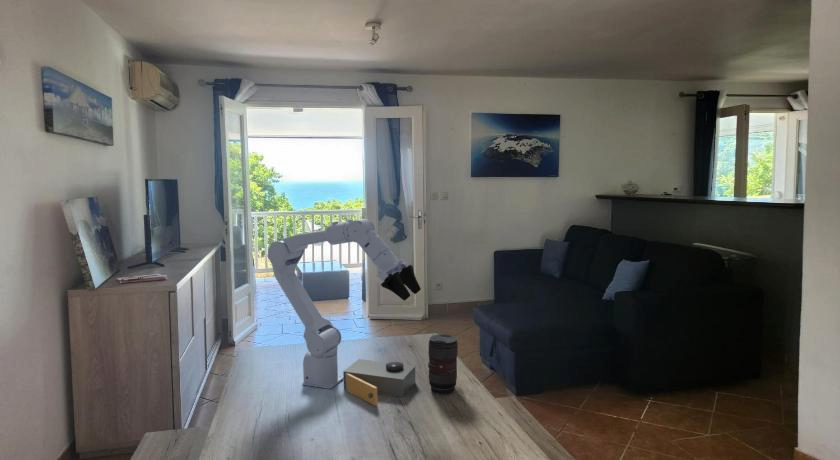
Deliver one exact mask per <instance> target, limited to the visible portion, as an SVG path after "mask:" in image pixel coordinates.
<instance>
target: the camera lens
mask: <svg viewBox="0 0 840 460" xmlns="http://www.w3.org/2000/svg"><path fill="white" fill-rule="evenodd" d="M458 349H459V347H458V339H457V337H456V336H454V335H450V334H443V333H442V334H441V333H440V334H434V335H431V336H429V341H428V360H429V361H428V362H427V366H428V367H427V368H428V381H429V382H428V383H429V386H430V391H431V392H432V393H434V394H436V395H449V394H452V393H454V392H455V389H456V385H457V378H458V369H457V367H458V361H457V360H458V352H459V351H458Z"/></svg>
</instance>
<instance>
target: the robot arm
mask: <svg viewBox="0 0 840 460" xmlns="http://www.w3.org/2000/svg"><path fill="white" fill-rule="evenodd" d="M324 242H327V243H329V244H330V245H332V246H335V245H340V244H348V243H356V244H357V245H359V247H360V248H361V249H362V250H363V252H364V253H365V254H366V255H367V257H368V258H369V259H370V260H371V262H372V263H373V264H374V265H375V266H376V268H377V269H378V270H379V272H380V273H378V275H377V277H378V278H379V279H380V281H381V282H382V283H381V284H380V285H381V287H382V288H384V289H387V290H389V291H390V292H392V293H394V294H395V295H396V296H398V297H399V298H400V299H401V300H402V301H406V300H407V299H408V298H410V297H411V294H410V291H411V293H413V294H414V295H417V293H419V292H420V291H422V288H421V286H420V283H419V282H418V280H417V278H416V275H415V272H414V266H413V265H412V264H409V265H408V264H407V263H406V262H405V260H404V259H403V258H401V259H398V257H397V256H396V255H395V254H394V253H393V251H392V250H391V249H390V247H388V245H387V244H386V242H385V241H384V240H383V239H382V238H381V236H380V235H379V234H378V233H377V232H376V227H375V225H374V223H373V221H372V220H371V219H367V218H360V219H357V220H355V219H347V221H344V222H339V221H332V222H331V224H329V225H328V226H326V228H325V230H319V231H312V232H311V231H310V232H305V233H300V234H299V233H298V234H294V235H291V236H288V237H284V238H281V240H275V241H273V242H271V244H269V247H268V250H267V251H268V252H267V259H268V260H269V262H270V264H271V266H272V271H273V276H274V279H275V280H276V281H277V282H278V284H279V286H280V288H281V290H282V292H283V294H285V296H286V298H287V300H288V301H289V303H290V304H291V306H292V308H293V310H294V311H295V312H296V315H297V316H298V317H299V320H300V321H301V323H302V324H303V327H304V328H305V329H304V332H303V336H302V337H303V339H304V341H305V342H306V348H307V350H308V351H307V352H306V353H305V354H304V357H303V361H302V371H303V382H302V385H303V386H310V387H316V388H321V389H323V388H324V389H329V390H330V389H333V388H334V387H335V386H337V385H338V384H339V383H340V382H341V381H343V380H344V376H340V375H339V373H338V372H339V371H338V369H339V366H338V347H339V345H340V344H341V342H342V334H341V331H340V329H338V328H337V327H336V326H334V325H333V323H332V322H331V321H330V320H329V319H327V318H324V317H322V315H321V314H320V312H319V310H318V308H317V306H316V305H315V303H314V301H313V300H312V299H311V297H310V295H309V294H308V292H307V290H306V289H305V287H304V285H303V284H302V282H301V281H300V279H299V277H298V275H297V274H296V269H297V266H298V264H299V262H300V261H301V259H302V257H303V255H304V254H305V250H307V249H308V246H310V245H314V244H319V243H324ZM408 289H409V290H410V291H409V290H408Z"/></svg>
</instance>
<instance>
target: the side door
mask: <svg viewBox="0 0 840 460" xmlns="http://www.w3.org/2000/svg"><path fill="white" fill-rule="evenodd" d="M345 392H349V393H350V394H352V395H354V396H355V397H357V398H360V399H361V400H363V401H365V402H367V403H369V404H370V405H373V406H378V393H377V387H375V386H373V385H371V384H369V383H367V382H365V381H363V380H361V379H359V378H357V377H355V376H353V375H351V374H349V373H346V389H345Z"/></svg>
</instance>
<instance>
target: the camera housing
mask: <svg viewBox="0 0 840 460" xmlns="http://www.w3.org/2000/svg"><path fill="white" fill-rule="evenodd" d="M342 373H343V376H342V377H344V378H343V389H345V390H346V373H349V374H351V375H353V376H355V377H357V378H359V379H361V380H363V381H365V382H367V383H369V384H371V385H373V386H375V387H377V394H382V395H388V396H395V397H401V398H403V397H404V396H405V395H406V394H407V393H408V392H409V391H410V390H411V388H412V387H413V386H414V385H415V384H416V366H415V365H409V364H403V362H400V361H391V362H385V361H377V360H368V359H361V358H358V359H357V360H356V361H355V362H353V363H352V364H351V365H349V366H348V367H346V368H345V369H344V370H343V372H342Z"/></svg>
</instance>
